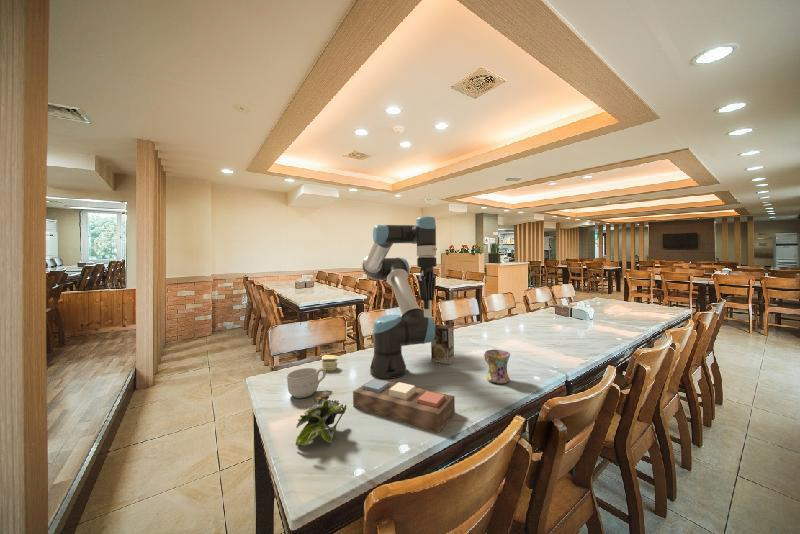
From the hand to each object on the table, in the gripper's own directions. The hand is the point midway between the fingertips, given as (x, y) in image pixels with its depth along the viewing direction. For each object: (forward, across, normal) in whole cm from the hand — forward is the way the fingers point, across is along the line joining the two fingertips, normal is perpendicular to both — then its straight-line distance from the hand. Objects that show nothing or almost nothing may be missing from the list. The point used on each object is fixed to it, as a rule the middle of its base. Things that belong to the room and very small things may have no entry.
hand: (427, 316), depth 118 cm
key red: (+22, -26, -13) cm, 37 cm away
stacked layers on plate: (+25, -11, +43) cm, 51 cm away
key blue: (+22, -26, +7) cm, 35 cm away
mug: (+25, +11, -23) cm, 35 cm away
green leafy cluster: (+25, -49, +8) cm, 56 cm away
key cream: (+21, -26, -3) cm, 34 cm away
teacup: (+25, -32, +33) cm, 52 cm away
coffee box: (+25, +21, +3) cm, 32 cm away
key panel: (+24, -26, -3) cm, 36 cm away
